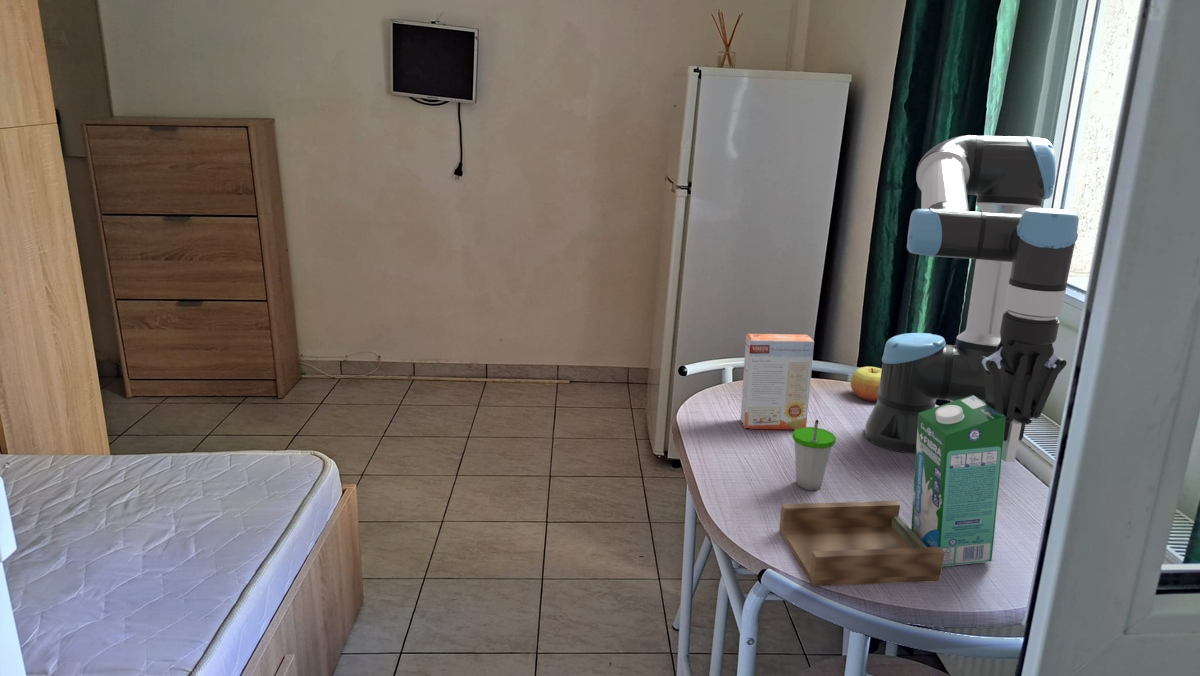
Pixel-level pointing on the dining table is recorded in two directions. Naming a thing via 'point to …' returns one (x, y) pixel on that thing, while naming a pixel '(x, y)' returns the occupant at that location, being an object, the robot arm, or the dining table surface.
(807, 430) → the cup
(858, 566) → the tray
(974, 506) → the milk carton
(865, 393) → the apple
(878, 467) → the dining table surface
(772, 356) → the cracker box
